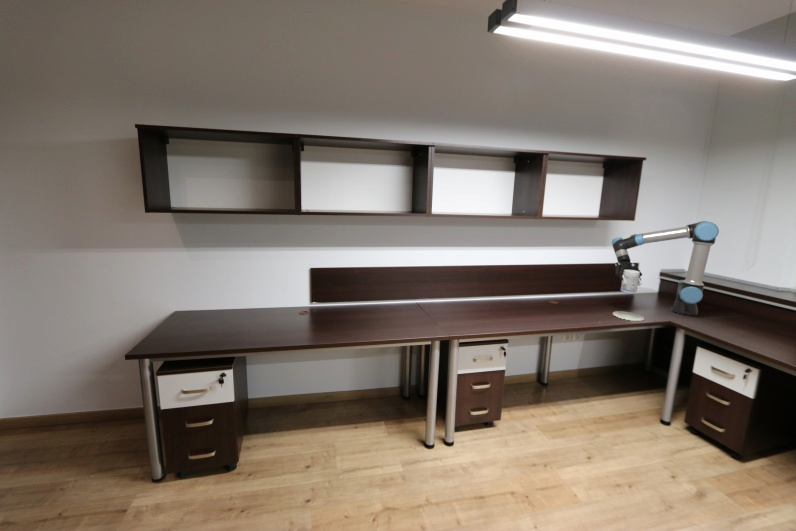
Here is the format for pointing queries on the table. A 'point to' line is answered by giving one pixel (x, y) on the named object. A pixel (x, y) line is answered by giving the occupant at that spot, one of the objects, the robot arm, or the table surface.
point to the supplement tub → (630, 281)
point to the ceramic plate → (628, 316)
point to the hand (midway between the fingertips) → (632, 284)
